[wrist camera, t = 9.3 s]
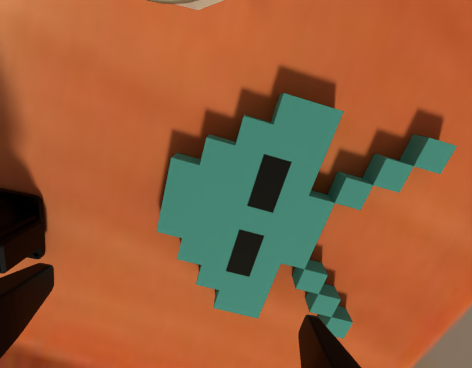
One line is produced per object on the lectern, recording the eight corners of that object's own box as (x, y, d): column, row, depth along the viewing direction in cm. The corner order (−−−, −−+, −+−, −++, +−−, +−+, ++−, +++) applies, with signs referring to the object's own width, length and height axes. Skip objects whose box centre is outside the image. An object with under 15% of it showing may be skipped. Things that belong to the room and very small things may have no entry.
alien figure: (434, 141, 20) (195, 68, 18) (456, 146, 18) (189, 64, 16) (335, 319, 26) (152, 275, 25) (343, 338, 24) (144, 291, 23)
